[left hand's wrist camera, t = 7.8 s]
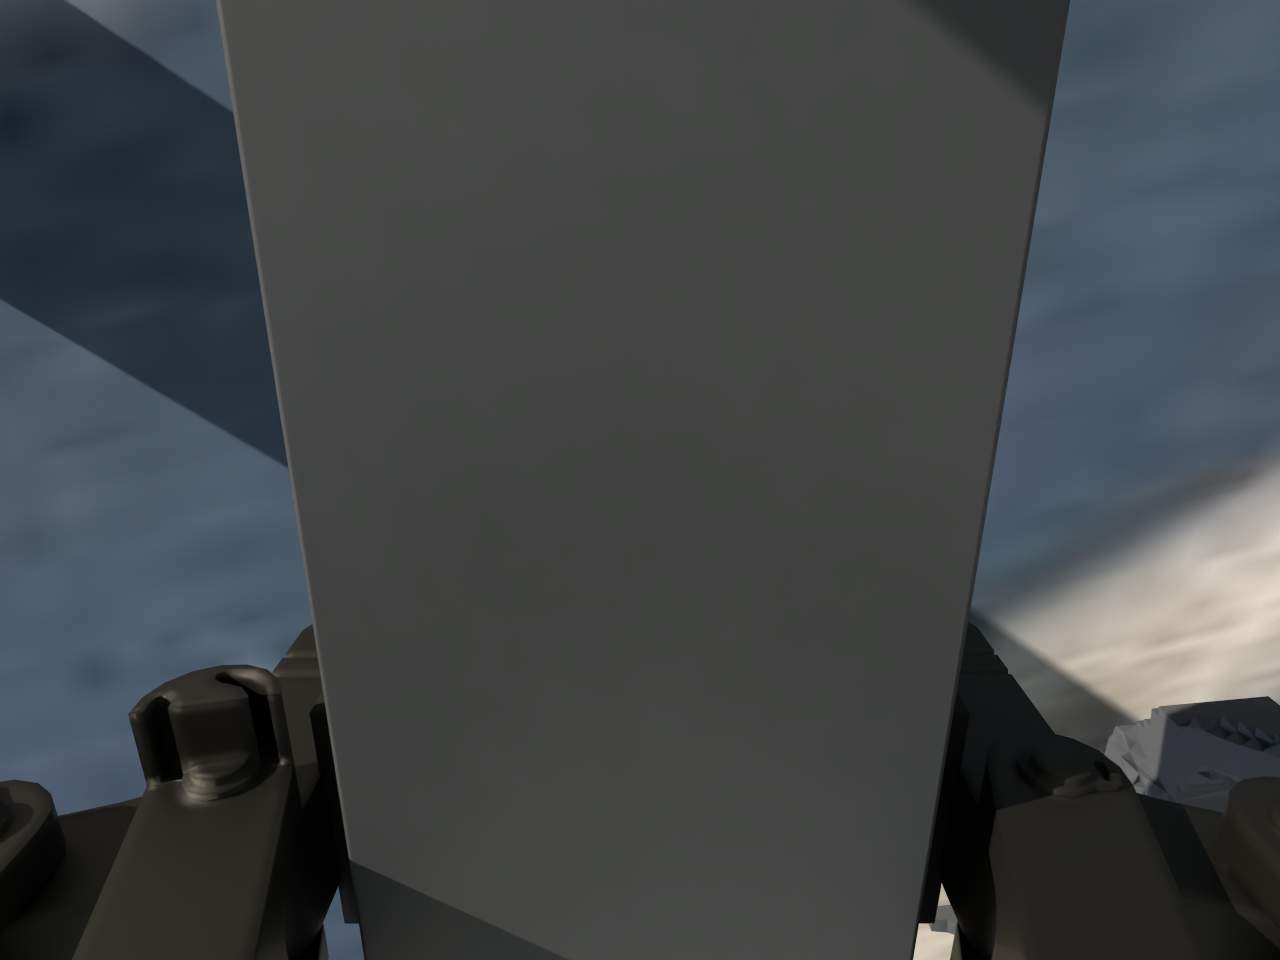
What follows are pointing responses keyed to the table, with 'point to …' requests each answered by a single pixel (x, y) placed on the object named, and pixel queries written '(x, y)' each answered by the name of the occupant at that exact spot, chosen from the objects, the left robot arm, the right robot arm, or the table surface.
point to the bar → (640, 445)
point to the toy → (1190, 756)
